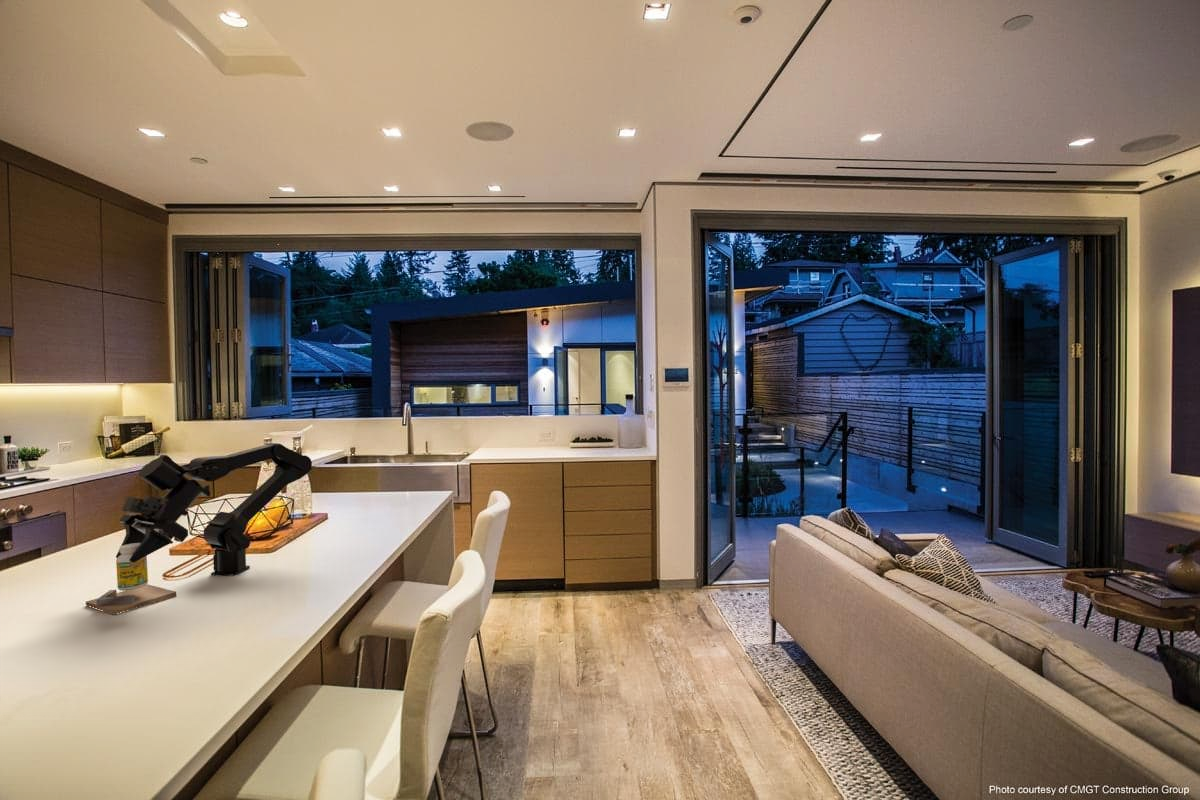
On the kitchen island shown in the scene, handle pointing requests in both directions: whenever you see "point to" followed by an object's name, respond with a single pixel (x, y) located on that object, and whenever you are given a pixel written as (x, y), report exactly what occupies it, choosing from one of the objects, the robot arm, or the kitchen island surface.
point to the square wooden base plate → (130, 598)
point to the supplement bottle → (131, 569)
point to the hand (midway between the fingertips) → (124, 560)
